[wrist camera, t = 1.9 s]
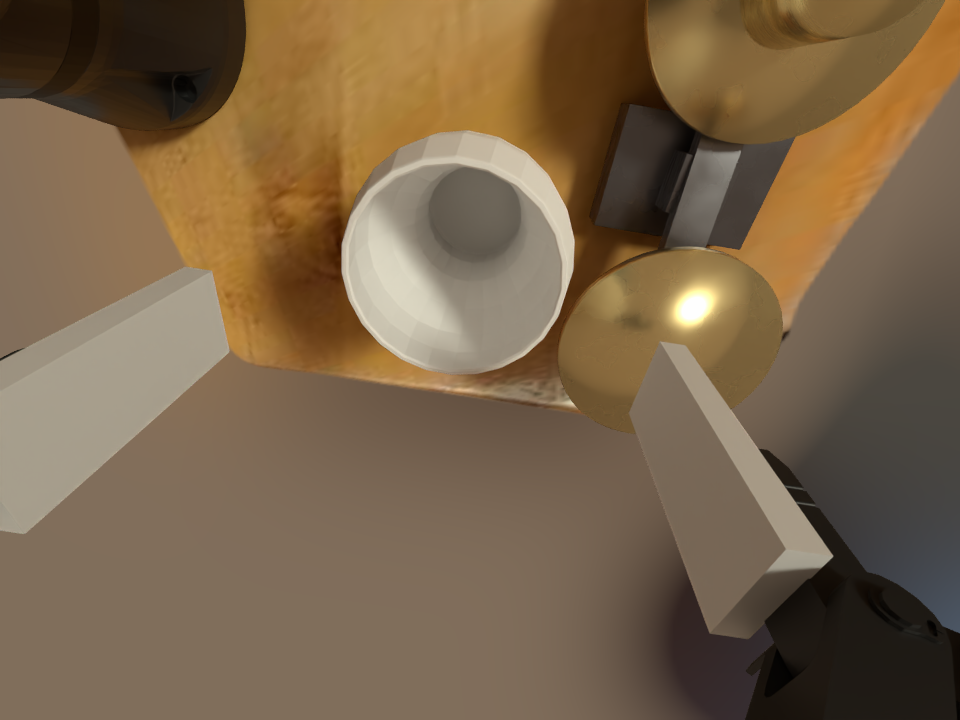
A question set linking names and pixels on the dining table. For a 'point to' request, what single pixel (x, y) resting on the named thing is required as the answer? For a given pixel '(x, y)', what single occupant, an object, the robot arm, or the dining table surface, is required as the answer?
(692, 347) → the balance
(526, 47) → the dining table surface
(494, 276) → the cup
